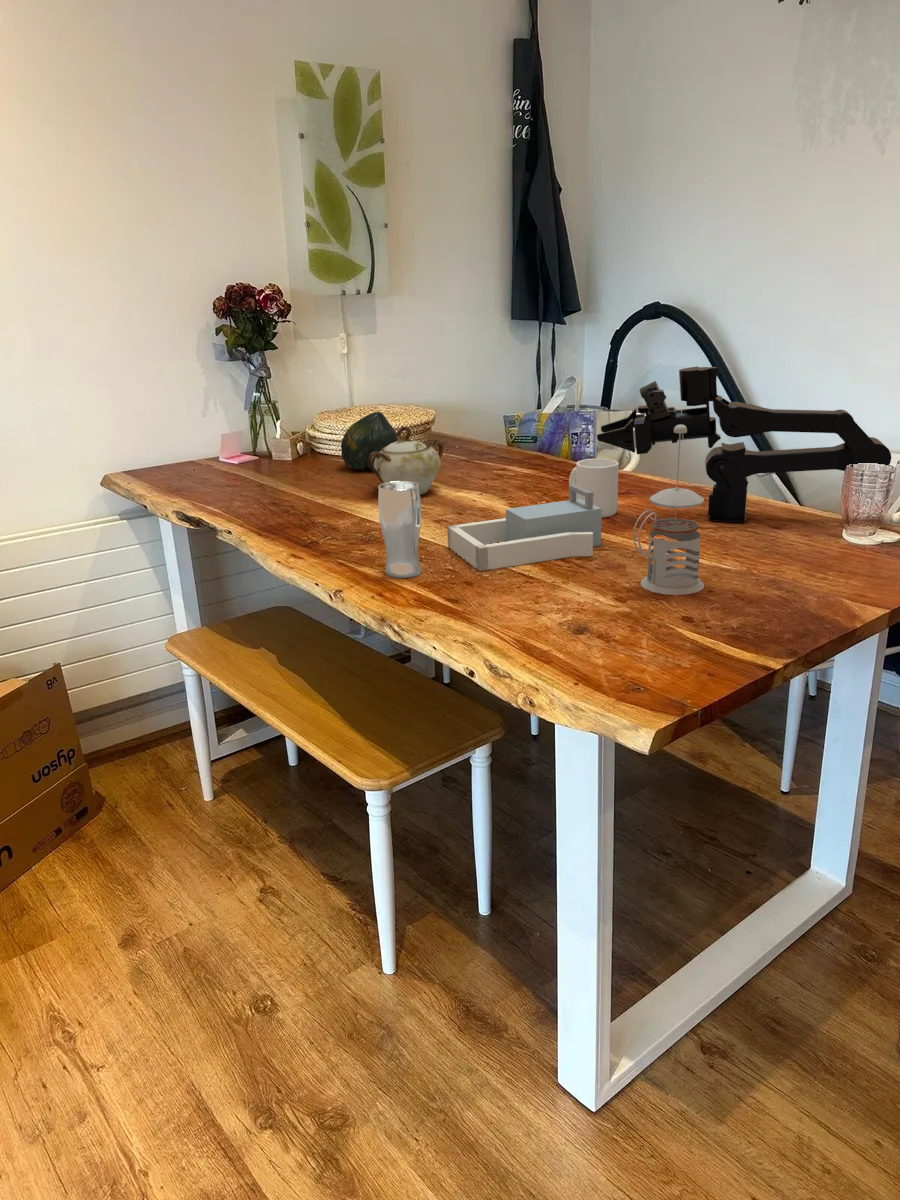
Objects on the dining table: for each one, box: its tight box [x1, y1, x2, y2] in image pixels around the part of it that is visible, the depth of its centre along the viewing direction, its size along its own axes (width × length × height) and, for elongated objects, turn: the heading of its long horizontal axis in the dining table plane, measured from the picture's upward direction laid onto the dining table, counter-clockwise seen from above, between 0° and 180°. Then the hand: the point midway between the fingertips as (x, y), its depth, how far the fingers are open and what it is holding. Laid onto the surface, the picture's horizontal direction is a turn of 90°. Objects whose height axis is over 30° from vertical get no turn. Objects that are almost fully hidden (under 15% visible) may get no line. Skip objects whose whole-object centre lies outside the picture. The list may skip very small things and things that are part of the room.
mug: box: [568, 458, 619, 519], centre depth 182 cm, size 12×8×10 cm
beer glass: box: [377, 481, 422, 579], centre depth 149 cm, size 7×7×15 cm
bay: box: [446, 517, 594, 572], centre depth 160 cm, size 21×18×4 cm
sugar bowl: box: [368, 426, 444, 496], centre depth 202 cm, size 20×15×15 cm
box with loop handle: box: [505, 484, 602, 547], centre depth 162 cm, size 15×8×10 cm, turn 111°
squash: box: [340, 411, 398, 471], centre depth 229 cm, size 14×15×15 cm
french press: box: [632, 425, 705, 596], centre depth 137 cm, size 10×12×25 cm
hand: (599, 433), depth 175 cm, fingers open, 9 cm apart
